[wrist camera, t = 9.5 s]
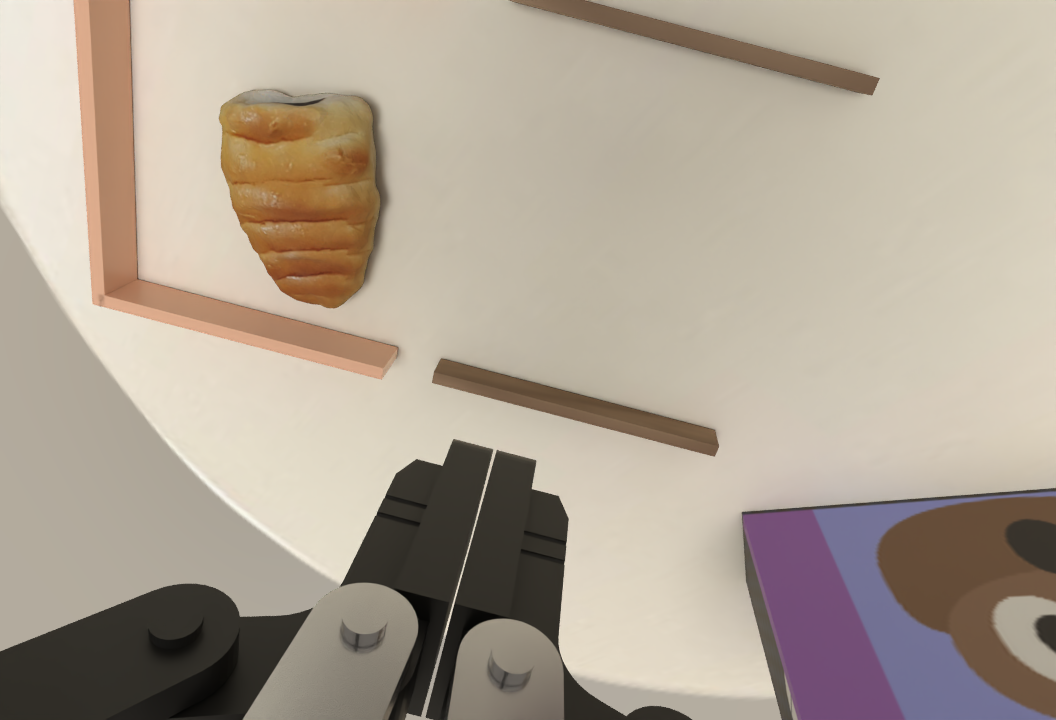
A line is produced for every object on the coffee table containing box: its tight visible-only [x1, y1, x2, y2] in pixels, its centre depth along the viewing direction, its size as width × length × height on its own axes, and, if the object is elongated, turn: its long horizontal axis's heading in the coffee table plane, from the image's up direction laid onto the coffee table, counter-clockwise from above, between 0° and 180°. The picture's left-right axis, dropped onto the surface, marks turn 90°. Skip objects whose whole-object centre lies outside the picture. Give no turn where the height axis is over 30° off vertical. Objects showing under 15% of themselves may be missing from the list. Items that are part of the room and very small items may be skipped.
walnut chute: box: [432, 0, 880, 457], centre depth 29 cm, size 17×14×2 cm
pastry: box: [219, 90, 380, 308], centre depth 29 cm, size 9×7×4 cm
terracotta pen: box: [74, 0, 398, 380], centre depth 28 cm, size 17×14×2 cm
